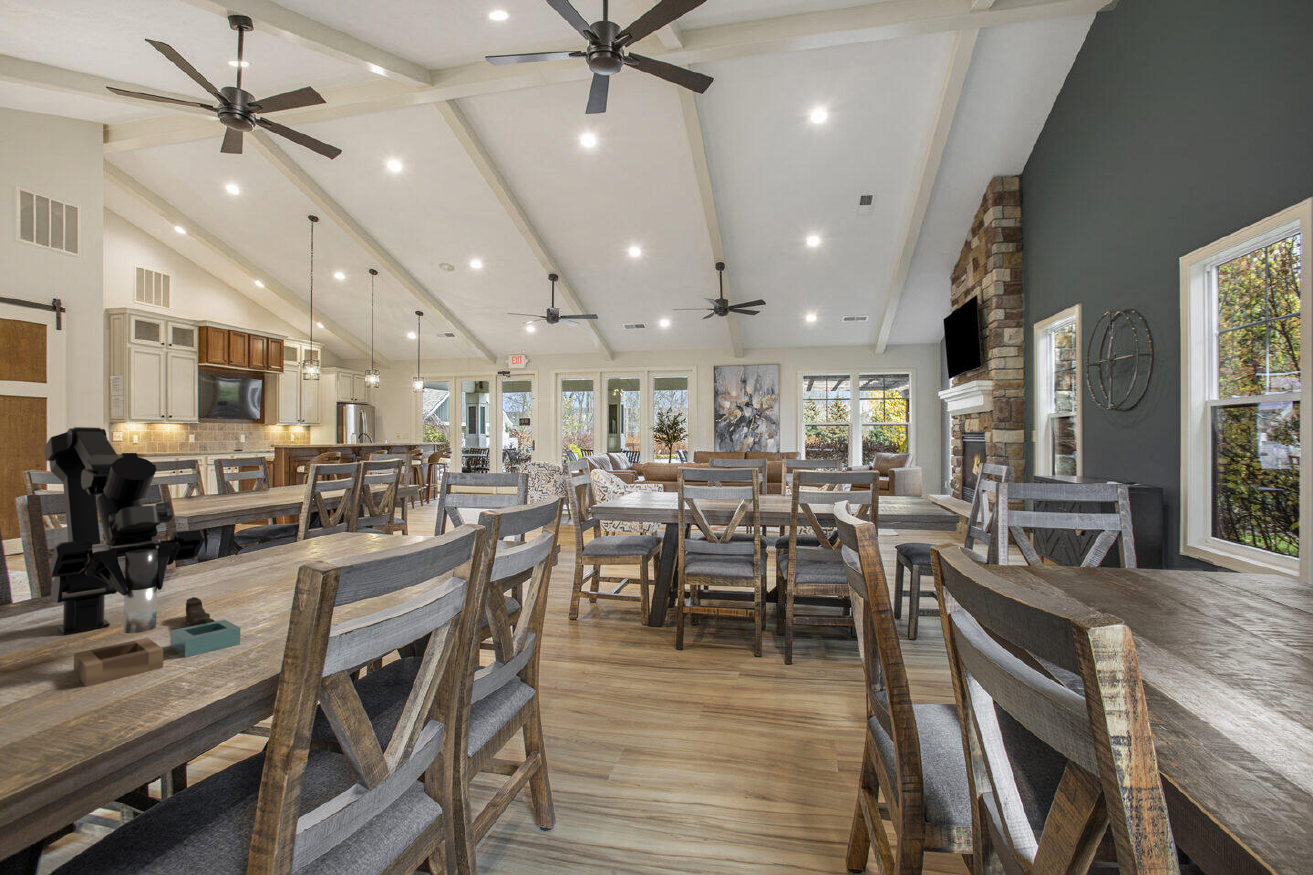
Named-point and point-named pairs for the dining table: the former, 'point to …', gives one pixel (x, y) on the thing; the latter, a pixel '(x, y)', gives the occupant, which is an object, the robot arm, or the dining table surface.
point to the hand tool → (196, 613)
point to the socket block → (205, 637)
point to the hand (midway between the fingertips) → (143, 591)
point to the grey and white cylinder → (140, 590)
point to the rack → (117, 661)
